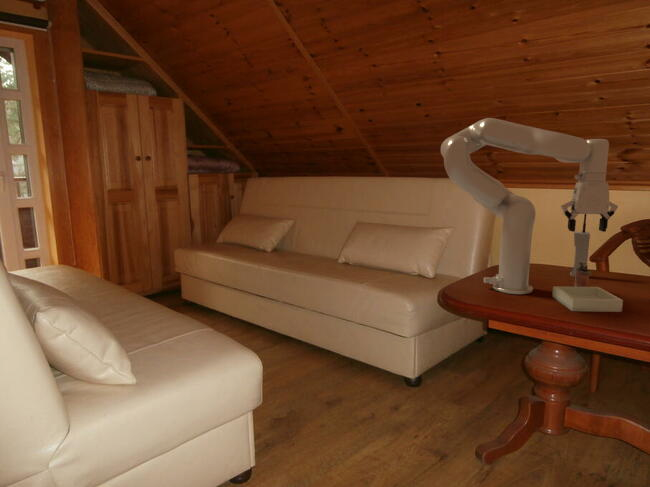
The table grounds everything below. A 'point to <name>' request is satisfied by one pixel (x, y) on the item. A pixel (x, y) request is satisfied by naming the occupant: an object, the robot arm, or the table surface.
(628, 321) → the table surface
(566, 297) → the tray
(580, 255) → the vintage mobile phone
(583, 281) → the lighter
